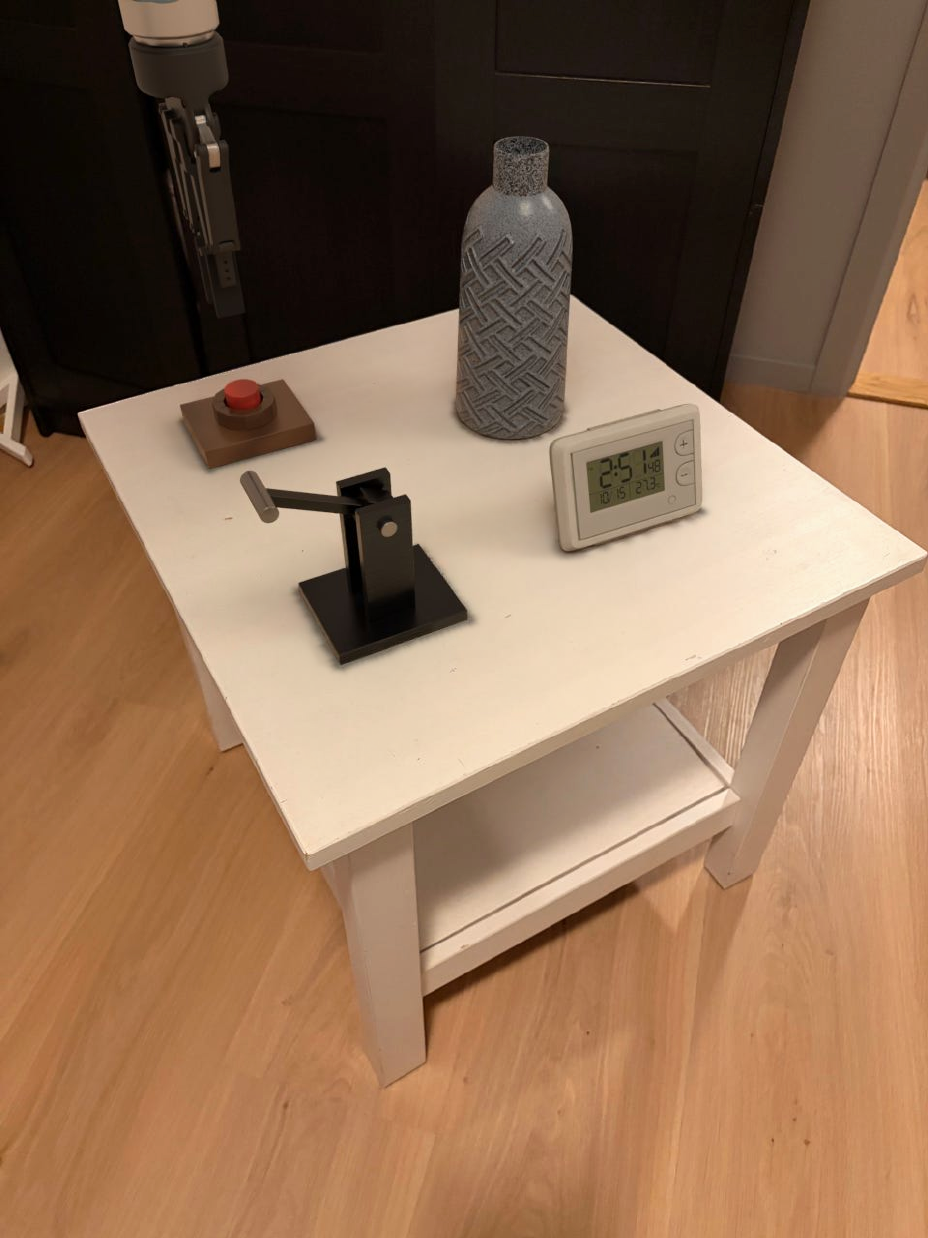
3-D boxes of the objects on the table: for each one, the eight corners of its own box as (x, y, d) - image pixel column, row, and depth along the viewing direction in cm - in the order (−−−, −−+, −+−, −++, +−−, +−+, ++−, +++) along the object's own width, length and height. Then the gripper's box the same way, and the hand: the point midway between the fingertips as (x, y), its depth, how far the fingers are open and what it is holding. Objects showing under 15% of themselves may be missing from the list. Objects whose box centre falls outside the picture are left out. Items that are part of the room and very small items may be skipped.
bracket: (340, 665, 78) (324, 549, 68) (299, 592, 84) (280, 477, 75) (467, 619, 81) (468, 504, 72) (419, 552, 88) (414, 439, 79)
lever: (256, 528, 67) (265, 500, 66) (235, 490, 71) (244, 463, 69) (396, 539, 75) (407, 515, 74) (371, 505, 78) (381, 481, 77)
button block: (208, 469, 97) (201, 437, 94) (183, 421, 103) (175, 389, 100) (316, 439, 101) (312, 407, 98) (286, 395, 107) (281, 364, 104)
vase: (581, 428, 103) (611, 159, 82) (480, 451, 99) (486, 177, 79) (535, 374, 110) (552, 117, 90) (440, 394, 107) (436, 132, 87)
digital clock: (555, 560, 87) (565, 467, 79) (529, 502, 93) (535, 411, 86) (715, 535, 90) (739, 443, 82) (679, 480, 96) (698, 390, 88)
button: (232, 414, 98) (229, 400, 96) (222, 397, 100) (219, 383, 99) (265, 406, 99) (263, 391, 98) (254, 389, 101) (252, 375, 100)
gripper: (249, 51, 71) (288, 333, 88) (193, 6, 81) (238, 267, 98) (151, 63, 69) (211, 351, 86) (106, 16, 79) (168, 282, 95)
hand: (225, 306), depth 92 cm, fingers open, 3 cm apart
